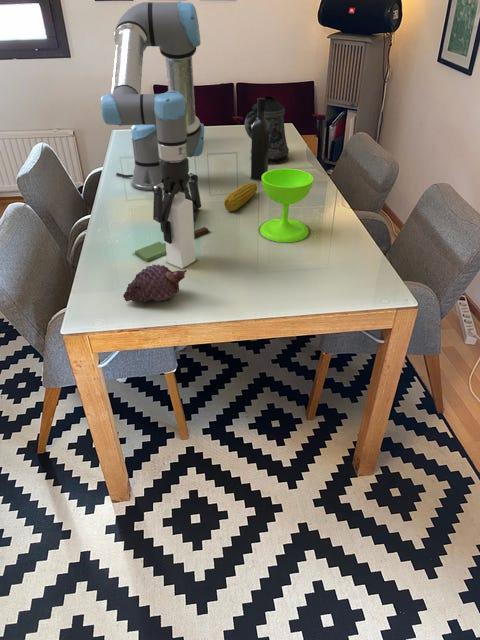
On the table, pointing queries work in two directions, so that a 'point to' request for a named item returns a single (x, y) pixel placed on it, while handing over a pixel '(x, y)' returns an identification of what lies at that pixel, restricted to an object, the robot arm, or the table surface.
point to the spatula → (161, 247)
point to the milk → (181, 232)
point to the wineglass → (285, 203)
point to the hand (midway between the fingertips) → (179, 237)
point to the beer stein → (272, 129)
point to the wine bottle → (259, 142)
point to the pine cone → (154, 284)
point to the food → (240, 196)
